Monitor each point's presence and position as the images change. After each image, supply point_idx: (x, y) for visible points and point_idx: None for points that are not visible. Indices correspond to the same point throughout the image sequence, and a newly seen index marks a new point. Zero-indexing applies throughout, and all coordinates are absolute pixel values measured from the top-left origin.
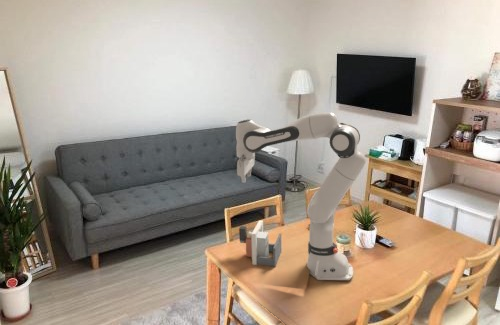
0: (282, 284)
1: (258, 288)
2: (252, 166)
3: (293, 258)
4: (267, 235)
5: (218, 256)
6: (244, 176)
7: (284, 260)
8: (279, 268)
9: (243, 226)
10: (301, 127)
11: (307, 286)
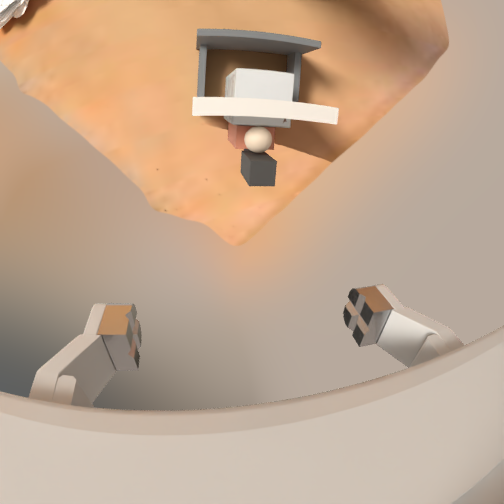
0: (368, 39)
1: (387, 92)
2: (28, 409)
3: (239, 7)
4: (256, 69)
5: (259, 219)
6: (451, 332)
7: (255, 29)
8: None
9: (252, 173)
10: None
11: None
